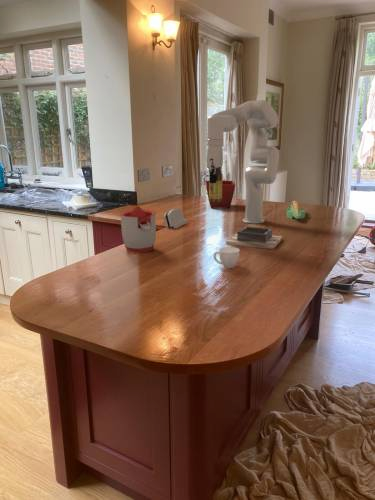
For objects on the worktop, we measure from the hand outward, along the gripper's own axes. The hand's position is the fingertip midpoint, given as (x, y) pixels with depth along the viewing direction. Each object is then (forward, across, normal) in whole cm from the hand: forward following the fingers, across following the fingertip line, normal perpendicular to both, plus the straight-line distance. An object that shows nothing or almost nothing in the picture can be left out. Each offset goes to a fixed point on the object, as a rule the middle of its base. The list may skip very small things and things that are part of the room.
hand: (215, 181), depth 195 cm
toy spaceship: (+28, -61, +28) cm, 73 cm away
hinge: (+28, -16, -30) cm, 44 cm away
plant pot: (+28, -77, -27) cm, 86 cm away
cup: (+27, +41, +21) cm, 54 cm away
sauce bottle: (+10, 0, 0) cm, 10 cm away
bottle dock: (+27, +2, +21) cm, 34 cm away
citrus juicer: (+27, +35, -22) cm, 50 cm away
